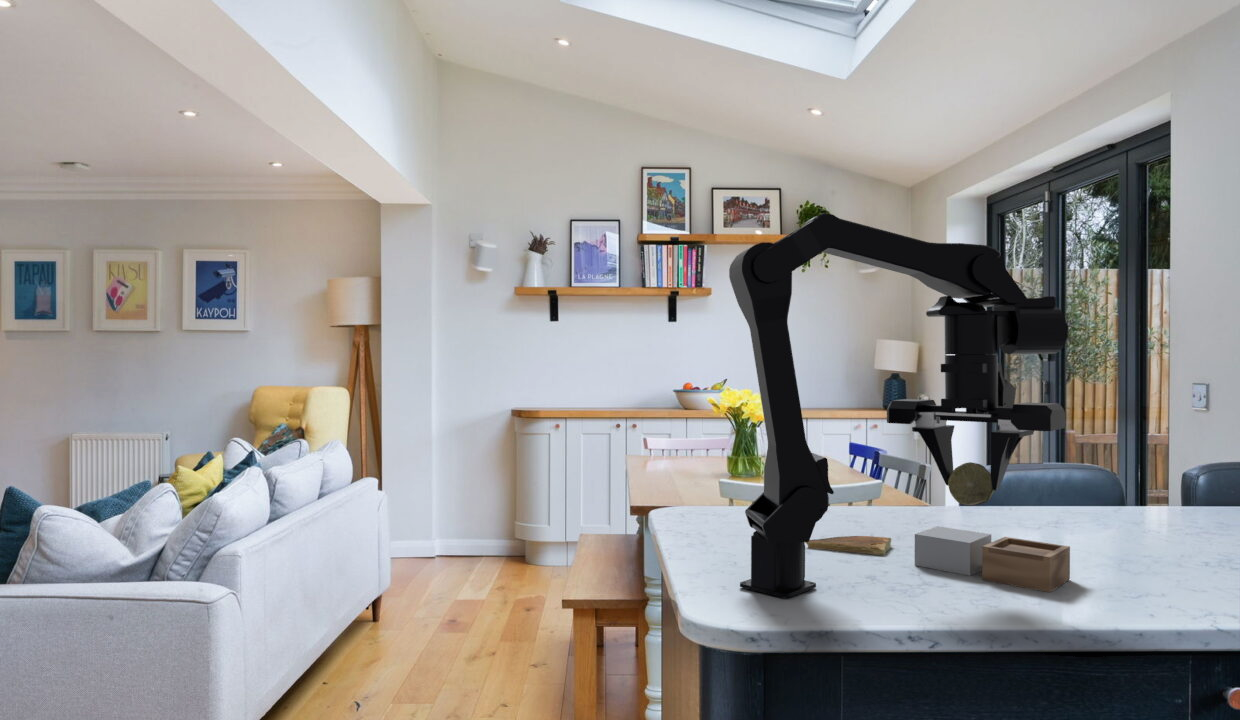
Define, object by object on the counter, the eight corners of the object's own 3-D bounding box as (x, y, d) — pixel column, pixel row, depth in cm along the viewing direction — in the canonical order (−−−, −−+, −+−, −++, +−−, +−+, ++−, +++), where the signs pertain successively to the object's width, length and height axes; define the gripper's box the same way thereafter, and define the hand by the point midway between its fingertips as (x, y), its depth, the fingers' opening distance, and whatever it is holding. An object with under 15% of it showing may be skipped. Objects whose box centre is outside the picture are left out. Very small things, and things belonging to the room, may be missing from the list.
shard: (804, 551, 114) (804, 538, 114) (816, 540, 121) (816, 528, 121) (884, 559, 109) (884, 546, 109) (892, 548, 116) (892, 535, 116)
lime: (1000, 508, 93) (1000, 464, 94) (957, 506, 93) (958, 463, 94) (983, 503, 98) (983, 461, 98) (942, 501, 98) (943, 460, 98)
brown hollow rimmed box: (1049, 592, 92) (1049, 557, 92) (982, 579, 98) (982, 546, 98) (1069, 579, 98) (1069, 546, 98) (1004, 568, 103) (1004, 536, 103)
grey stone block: (969, 575, 100) (970, 542, 99) (914, 565, 104) (914, 534, 104) (991, 565, 104) (991, 534, 104) (937, 555, 109) (937, 526, 109)
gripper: (1079, 353, 95) (1080, 487, 95) (923, 355, 108) (924, 472, 108) (1048, 354, 87) (1049, 500, 87) (884, 355, 100) (885, 482, 100)
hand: (972, 487), depth 96 cm, fingers closed on lime, 5 cm apart
